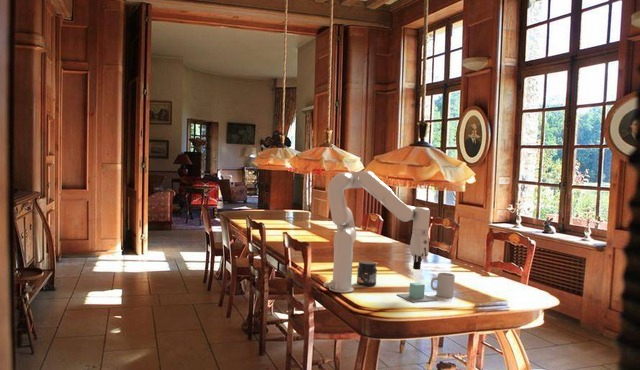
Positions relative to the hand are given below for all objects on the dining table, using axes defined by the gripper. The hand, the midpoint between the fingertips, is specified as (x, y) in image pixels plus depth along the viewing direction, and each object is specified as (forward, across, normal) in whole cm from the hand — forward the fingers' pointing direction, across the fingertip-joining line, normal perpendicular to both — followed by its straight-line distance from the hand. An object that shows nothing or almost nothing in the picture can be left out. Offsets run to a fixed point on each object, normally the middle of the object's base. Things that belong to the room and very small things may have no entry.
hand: (416, 269), depth 264 cm
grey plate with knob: (+14, -1, -1) cm, 14 cm away
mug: (+14, 0, -17) cm, 22 cm away
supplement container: (+16, +30, +10) cm, 35 cm away
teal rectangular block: (+14, -1, -1) cm, 14 cm away
